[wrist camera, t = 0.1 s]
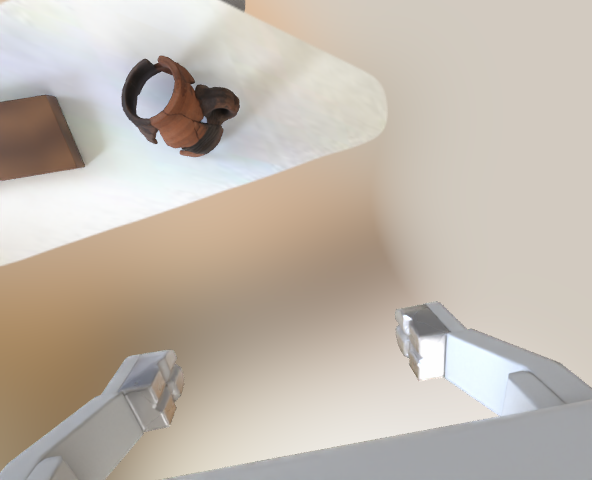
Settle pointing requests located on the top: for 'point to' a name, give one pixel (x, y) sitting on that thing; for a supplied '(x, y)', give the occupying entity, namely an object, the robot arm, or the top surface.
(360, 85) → the top surface
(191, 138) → the pottery mug
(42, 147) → the cutting board
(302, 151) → the top surface
